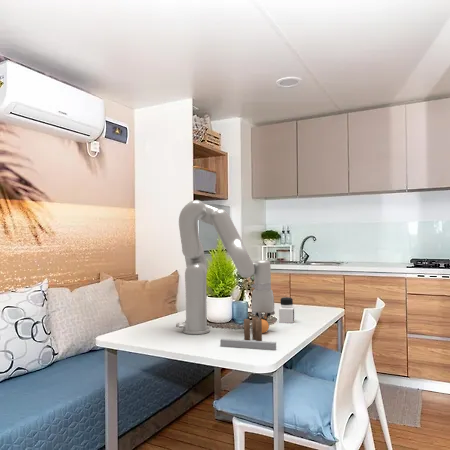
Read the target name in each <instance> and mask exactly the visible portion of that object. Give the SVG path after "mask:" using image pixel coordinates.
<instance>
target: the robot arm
mask: <svg viewBox="0 0 450 450" xmlns="http://www.w3.org/2000/svg"><path fill="white" fill-rule="evenodd" d="M198 221H200V222H203V223H205V224H209V225H211V226H213V227H214V229H215V231H216V232H217V235H218V236H219V239H220V241H221V242H222V245H223V247H224V248H225V250H226V251H227V252H228V254H229V256H230V259H232V261H233V264H234V266H235V268H236V269H237V273H238V275H240V276H241V277H243V278H247V279H248V278H251V277H252V276H253V277H254V283H253V284H252V283H251V288H253V290H252V293H251V305H250V306H251V308H250V309H251V314H252V315H256V317H257V318H258V319H260V320H261V319H263V320H266V321H267V322H268V318H269V317H270V316H274V315H276V312H275V299H274V292H273V291H274V290H273V289H272V275H271V274H272V273H271V271H272V270H271V267H272V266H271V265H272V264H271V261H270V260H268V259H258V260H252V259H251V257H250V255H249V253H248V251H247V249H246V247H245V245H244V242H243V240H242V237H241V236H240V234H239V232H238V229H237V228H236V226H235V224H234V222H233V220H232V218H231V216H230V214H229V213H228V212H227V210H225V209H224V208H223V209H222V208H217V207H214V206H211V205H208V204H207V203H206V204H205V203H204V202H203V201H201V200H199V199H195V200H190V201H189V202H188V203H187V204H185V205H184V206H183V207H182V209H181V210H180V213H179V217H178V228H179V235H180V236H179V237H180V242H181V243H180V244H181V252H182V254H183V256H184V261H185V266H186V268H185V270H184V271H185V272H184V282H185V283H184V284H185V320H184V322H183V321H182V322H176V323H175V328H179V329H181V328H182V332H183V334H187V335H205V334H208V333H210V332H211V328H210V327H209V326H208V325H207V324H208V322H207V321H208V317H207V316H208V315H207V314H208V312H207V311H208V309H207V308H208V306H207V305H208V304H207V303H208V302H207V273H208V269H207V264H206V263H207V262H206V257H205V250H204V246H203V243H202V242H201V239H200V235H199V228H198ZM263 313H264V315H263Z"/></svg>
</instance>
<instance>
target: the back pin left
mask: <svg viewBox="0 0 450 450" xmlns="http://www.w3.org/2000/svg"><path fill="white" fill-rule="evenodd" d="M243 331H244V332H243V334H244V335H243V340H250V341H251V320H250V318H244V319H243Z"/></svg>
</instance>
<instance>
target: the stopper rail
mask: <svg viewBox="0 0 450 450" xmlns="http://www.w3.org/2000/svg"><path fill="white" fill-rule="evenodd" d="M219 342H220V345H219V346H220V347H227V348H240V349H241V348H242V349H253V350H254V349H255V350H256V349H257V350H267V351H269V350H270V351H276V349H277V341H266V340H265V341H263V340H262V341H256V340H251V339H250V340H244V339H232V338H231V339H230V338H221V339H220V341H219Z"/></svg>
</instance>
